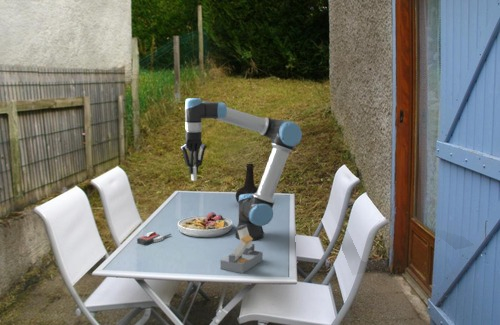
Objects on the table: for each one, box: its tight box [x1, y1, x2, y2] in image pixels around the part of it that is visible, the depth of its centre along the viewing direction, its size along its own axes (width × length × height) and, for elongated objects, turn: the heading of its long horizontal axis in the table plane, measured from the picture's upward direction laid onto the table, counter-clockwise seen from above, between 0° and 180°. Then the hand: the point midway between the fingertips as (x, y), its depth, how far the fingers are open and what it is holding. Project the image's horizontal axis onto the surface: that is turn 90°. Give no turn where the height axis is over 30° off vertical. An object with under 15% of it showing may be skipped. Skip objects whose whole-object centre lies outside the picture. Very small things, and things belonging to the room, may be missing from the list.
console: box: [220, 243, 263, 274], centre depth 238 cm, size 11×19×7 cm, turn 152°
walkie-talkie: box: [136, 231, 172, 246], centre depth 274 cm, size 9×4×20 cm
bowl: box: [177, 211, 233, 238], centre depth 292 cm, size 30×30×8 cm
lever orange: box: [231, 235, 254, 259], centre depth 231 cm, size 3×5×12 cm
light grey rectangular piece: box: [235, 224, 253, 251], centre depth 243 cm, size 3×5×12 cm, turn 153°
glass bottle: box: [235, 163, 258, 204], centre depth 351 cm, size 18×18×28 cm
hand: (193, 180), depth 254 cm, fingers closed
